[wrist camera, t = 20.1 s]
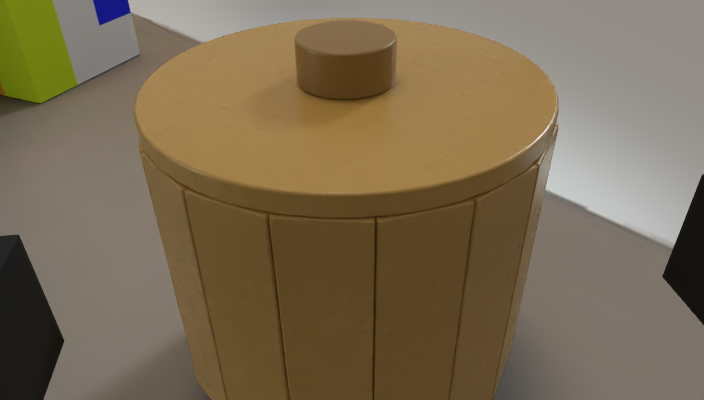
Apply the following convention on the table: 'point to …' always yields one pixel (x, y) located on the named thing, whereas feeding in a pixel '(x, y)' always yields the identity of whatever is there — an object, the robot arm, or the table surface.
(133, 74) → the table surface
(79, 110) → the table surface
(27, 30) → the puzzle toy
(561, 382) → the table surface
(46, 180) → the table surface
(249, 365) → the lidded wooden canister
